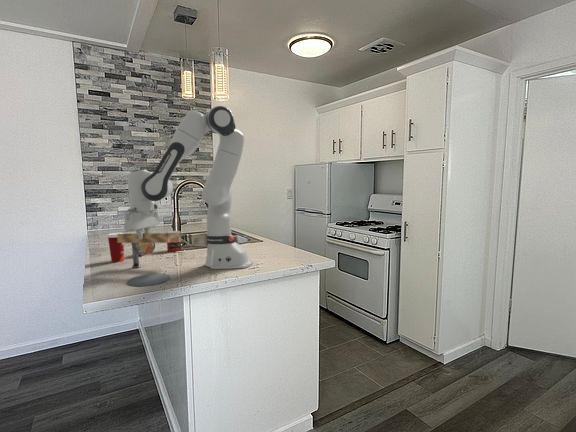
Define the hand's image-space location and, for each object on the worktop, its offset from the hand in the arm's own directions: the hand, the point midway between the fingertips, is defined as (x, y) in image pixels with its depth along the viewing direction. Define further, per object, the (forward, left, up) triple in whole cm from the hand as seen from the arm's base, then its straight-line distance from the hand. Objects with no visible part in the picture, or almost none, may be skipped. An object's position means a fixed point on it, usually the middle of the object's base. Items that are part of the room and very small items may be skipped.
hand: (143, 238), depth 143 cm
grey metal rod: (+8, -5, -15) cm, 17 cm away
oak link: (0, -4, -3) cm, 5 cm away
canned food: (+8, -42, -15) cm, 45 cm away
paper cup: (+25, -16, -15) cm, 33 cm away
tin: (+20, -32, -15) cm, 41 cm away
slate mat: (-10, +13, -15) cm, 22 cm away
